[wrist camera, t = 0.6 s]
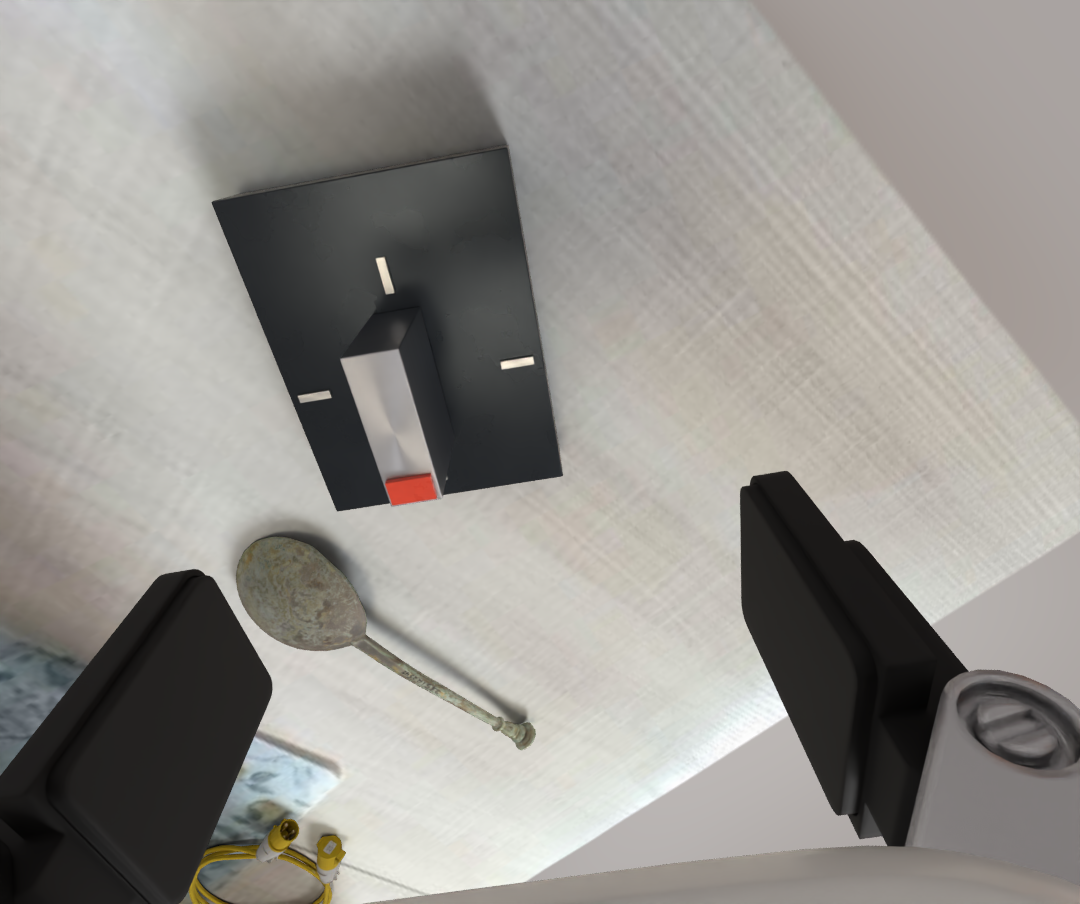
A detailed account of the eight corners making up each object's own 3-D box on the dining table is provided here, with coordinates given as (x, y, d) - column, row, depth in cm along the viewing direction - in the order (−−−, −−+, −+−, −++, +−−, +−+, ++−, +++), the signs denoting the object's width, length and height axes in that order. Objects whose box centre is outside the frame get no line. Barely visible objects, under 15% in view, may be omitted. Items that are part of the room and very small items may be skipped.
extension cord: (400, 874, 50) (396, 902, 48) (258, 926, 53) (249, 954, 51) (301, 804, 44) (292, 832, 42) (150, 867, 48) (136, 896, 46)
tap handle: (371, 314, 24) (337, 361, 19) (420, 306, 24) (397, 351, 19) (411, 443, 27) (389, 510, 22) (454, 436, 27) (442, 502, 22)
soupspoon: (292, 503, 32) (224, 565, 34) (265, 542, 29) (193, 607, 31) (562, 707, 40) (492, 747, 42) (562, 754, 37) (487, 794, 39)
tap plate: (238, 193, 24) (208, 202, 21) (508, 144, 23) (507, 147, 21) (349, 483, 31) (335, 513, 28) (559, 450, 30) (563, 478, 28)
